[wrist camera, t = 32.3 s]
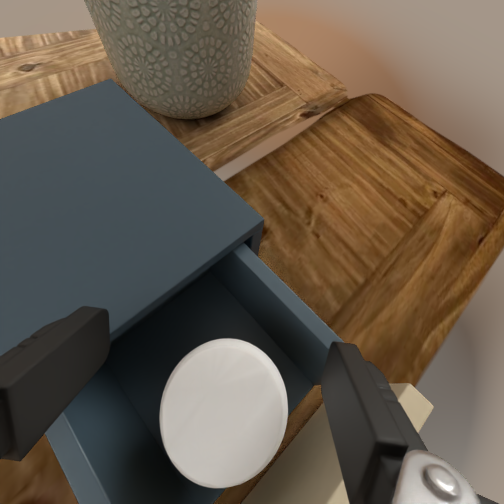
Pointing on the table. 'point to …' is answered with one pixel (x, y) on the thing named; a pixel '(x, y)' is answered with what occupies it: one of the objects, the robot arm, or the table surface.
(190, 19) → the planter
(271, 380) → the supplement bottle
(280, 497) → the drawer
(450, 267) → the table surface
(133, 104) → the cabinet
